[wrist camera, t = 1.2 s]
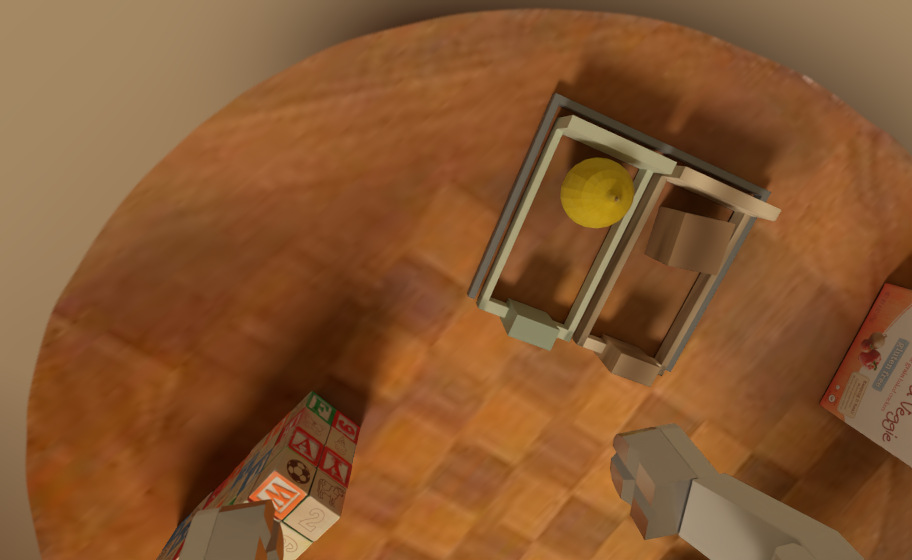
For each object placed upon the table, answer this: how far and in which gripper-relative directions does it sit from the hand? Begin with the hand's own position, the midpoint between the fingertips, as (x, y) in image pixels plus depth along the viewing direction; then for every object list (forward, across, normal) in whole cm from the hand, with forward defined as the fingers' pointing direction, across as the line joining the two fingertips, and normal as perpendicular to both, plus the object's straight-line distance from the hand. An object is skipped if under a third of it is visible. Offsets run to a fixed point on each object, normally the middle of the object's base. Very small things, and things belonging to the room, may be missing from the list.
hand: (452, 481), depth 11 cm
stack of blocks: (+29, -15, -30) cm, 44 cm away
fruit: (+31, +17, -4) cm, 36 cm away
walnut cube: (+29, +26, -8) cm, 40 cm away
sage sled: (+30, +15, -7) cm, 34 cm away
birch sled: (+28, +24, -12) cm, 39 cm away
